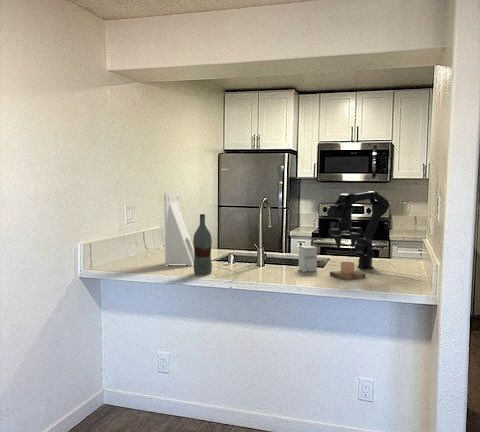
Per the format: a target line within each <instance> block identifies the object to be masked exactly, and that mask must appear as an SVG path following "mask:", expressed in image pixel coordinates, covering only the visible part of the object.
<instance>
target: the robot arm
mask: <svg viewBox="0 0 480 432" xmlns="http://www.w3.org/2000/svg"><path fill="white" fill-rule="evenodd" d="M367 200H369V203H370V204H371V205H372V206H371V211H372V213H371V216H370V218H369V220H368V223H367V225H366V227H365V231H364V230H363V229H364V228H362V227H357V226H356V227H355V226H354V227H352V223H354V220H353V219H352V210H355V209H356V208H355V206H353V205H355V204H356V203H357V202H362V201H367ZM388 209H390V203H389V200H388V199H386V198H385V197H384V196H383V195H381V194H379V193H378V192H377V191H373V190H371V191H366V192H359V193H340V194H339V195H338V198H337V200H336V201H335V203H334V204H330V205H329V208H328V209H327V211H326V216H327V218H328V219H330V220H331V219H332V220H333V219H338V221H337V222H335V221H332V222H330V223H329V224H330V228H329V229H328V235H330V237H332V238H333V239H334V241H335V244H336V247H337V249H340V248H341V244H342V236H343V235H341V234H349V236H350V244H351V245H350V246H351V248H354V249H355V252H356V256H357V257H358V256H359V259H358V265H357V266H356V268H360V269H363V270H369V269H374V268H375V267H374V266H373V258H375V256H376V252H375V251H374V249H373V245H374V244H373V238H374V235H375V233H376V230H377V228H378V226H379V223H380V221H381V219H382V216H383V215H385V214H386V213H387V211H388ZM363 231H364V232H363ZM362 234H363V236H362V237H360V236H361V235H362ZM359 237H360V238H359Z"/></svg>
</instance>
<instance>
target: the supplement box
mask: <svg viewBox="0 0 480 432" xmlns="http://www.w3.org/2000/svg"><path fill="white" fill-rule="evenodd" d="M317 267H318V247H316V246H314V245H299V246H298V270H299V269H300V270H299V271H301V270H302V271H301V272H303V271H304V272H305V273H306V272H307V271H309V272H317V271H318V270H317V269H318V268H317ZM304 272H303V273H304ZM307 273H308V272H307Z"/></svg>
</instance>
